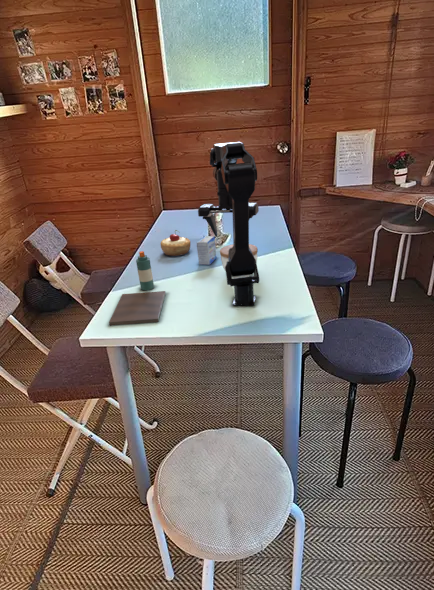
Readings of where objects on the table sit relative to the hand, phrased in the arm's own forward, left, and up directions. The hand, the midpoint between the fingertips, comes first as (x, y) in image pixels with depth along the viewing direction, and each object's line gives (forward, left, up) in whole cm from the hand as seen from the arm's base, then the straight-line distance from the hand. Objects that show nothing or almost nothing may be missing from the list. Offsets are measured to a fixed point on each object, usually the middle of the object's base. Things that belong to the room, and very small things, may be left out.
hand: (229, 236), depth 143 cm
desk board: (-26, +25, -14) cm, 39 cm away
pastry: (+26, +27, -14) cm, 40 cm away
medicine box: (+15, +12, -14) cm, 24 cm away
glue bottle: (-10, +28, -14) cm, 32 cm away
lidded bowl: (+1, -2, -14) cm, 14 cm away
